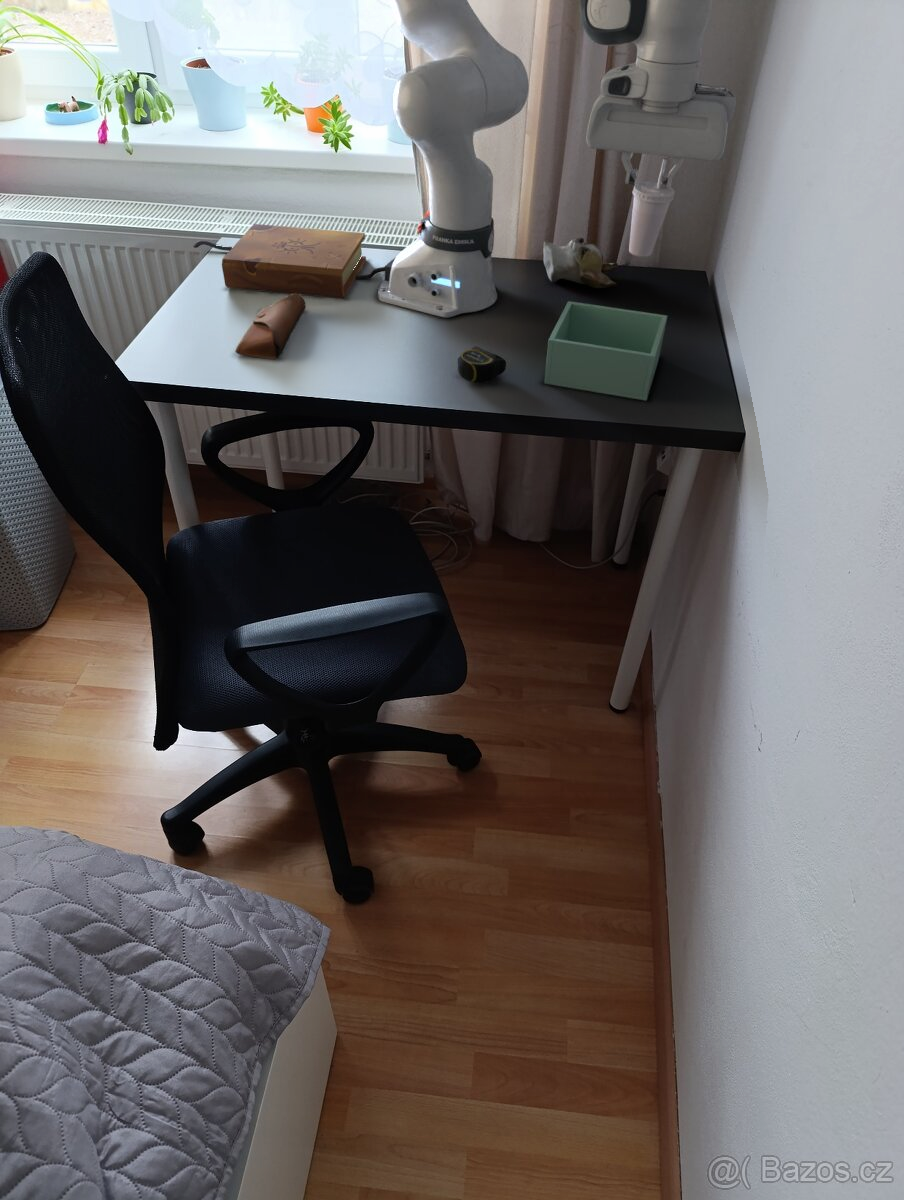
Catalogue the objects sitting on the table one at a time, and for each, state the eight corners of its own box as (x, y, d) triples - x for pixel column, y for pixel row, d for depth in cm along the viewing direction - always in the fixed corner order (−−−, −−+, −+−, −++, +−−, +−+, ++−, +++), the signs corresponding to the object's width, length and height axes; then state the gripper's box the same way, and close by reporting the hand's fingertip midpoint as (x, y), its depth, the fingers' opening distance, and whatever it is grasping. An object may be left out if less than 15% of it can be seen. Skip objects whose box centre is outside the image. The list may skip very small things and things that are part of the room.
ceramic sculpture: (547, 222, 161) (624, 233, 160) (541, 266, 168) (615, 276, 167) (542, 244, 154) (623, 255, 153) (536, 289, 160) (613, 300, 159)
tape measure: (507, 377, 136) (509, 356, 134) (479, 392, 133) (480, 370, 130) (477, 362, 140) (477, 341, 137) (448, 376, 136) (448, 355, 134)
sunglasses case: (261, 306, 153) (275, 277, 149) (295, 327, 155) (310, 298, 151) (232, 354, 140) (247, 323, 136) (271, 375, 142) (286, 345, 138)
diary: (226, 290, 159) (220, 260, 155) (257, 252, 172) (253, 223, 168) (343, 300, 156) (340, 269, 152) (366, 260, 170) (364, 231, 166)
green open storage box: (544, 383, 135) (548, 339, 130) (563, 343, 145) (568, 301, 140) (646, 400, 131) (655, 356, 126) (659, 358, 141) (667, 315, 136)
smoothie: (659, 262, 132) (682, 168, 122) (619, 256, 132) (639, 162, 122) (660, 247, 136) (682, 154, 126) (621, 241, 137) (640, 148, 127)
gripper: (741, 82, 118) (718, 186, 127) (598, 69, 122) (586, 171, 131) (738, 93, 113) (715, 199, 123) (590, 80, 117) (578, 184, 127)
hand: (647, 185), depth 127 cm, fingers closed on smoothie, 4 cm apart
